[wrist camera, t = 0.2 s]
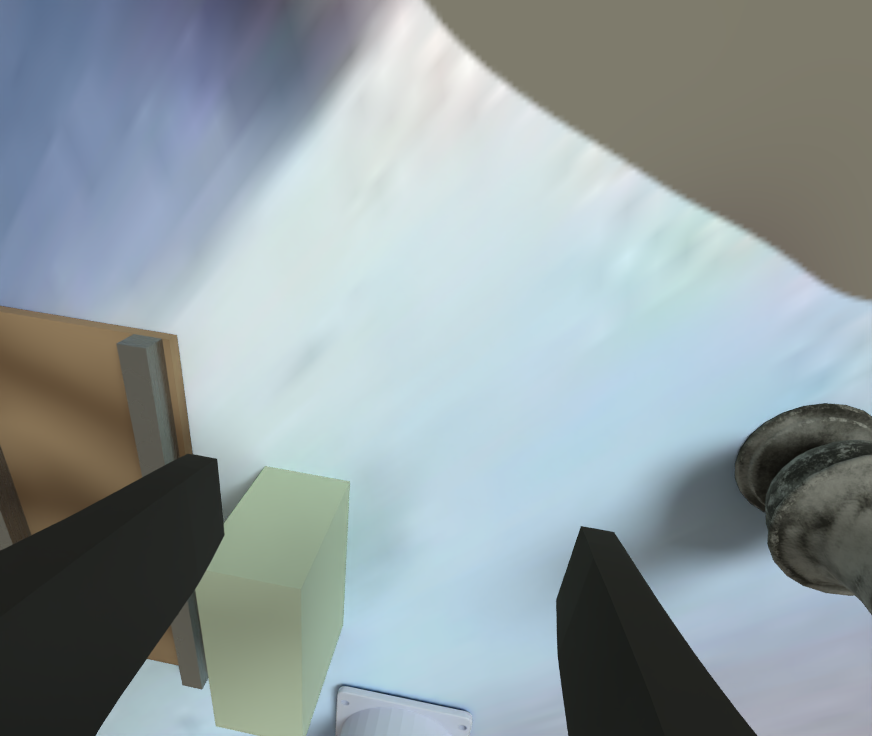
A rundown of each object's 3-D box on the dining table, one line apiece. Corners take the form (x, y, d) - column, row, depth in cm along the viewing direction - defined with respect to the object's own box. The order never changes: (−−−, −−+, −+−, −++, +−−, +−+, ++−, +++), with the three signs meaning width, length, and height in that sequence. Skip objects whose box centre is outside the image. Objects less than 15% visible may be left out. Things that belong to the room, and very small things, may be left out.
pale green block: (343, 622, 27) (302, 745, 22) (273, 608, 27) (215, 726, 22) (350, 479, 22) (300, 589, 17) (266, 464, 23) (191, 567, 17)
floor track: (220, 665, 30) (207, 690, 29) (52, 629, 31) (31, 652, 29) (176, 335, 20) (153, 349, 19) (-70, 294, 21) (-109, 305, 19)
